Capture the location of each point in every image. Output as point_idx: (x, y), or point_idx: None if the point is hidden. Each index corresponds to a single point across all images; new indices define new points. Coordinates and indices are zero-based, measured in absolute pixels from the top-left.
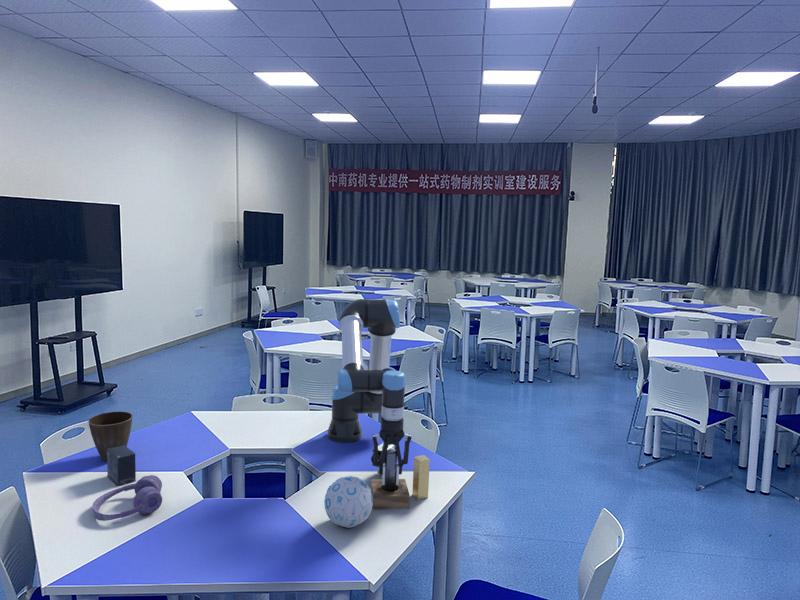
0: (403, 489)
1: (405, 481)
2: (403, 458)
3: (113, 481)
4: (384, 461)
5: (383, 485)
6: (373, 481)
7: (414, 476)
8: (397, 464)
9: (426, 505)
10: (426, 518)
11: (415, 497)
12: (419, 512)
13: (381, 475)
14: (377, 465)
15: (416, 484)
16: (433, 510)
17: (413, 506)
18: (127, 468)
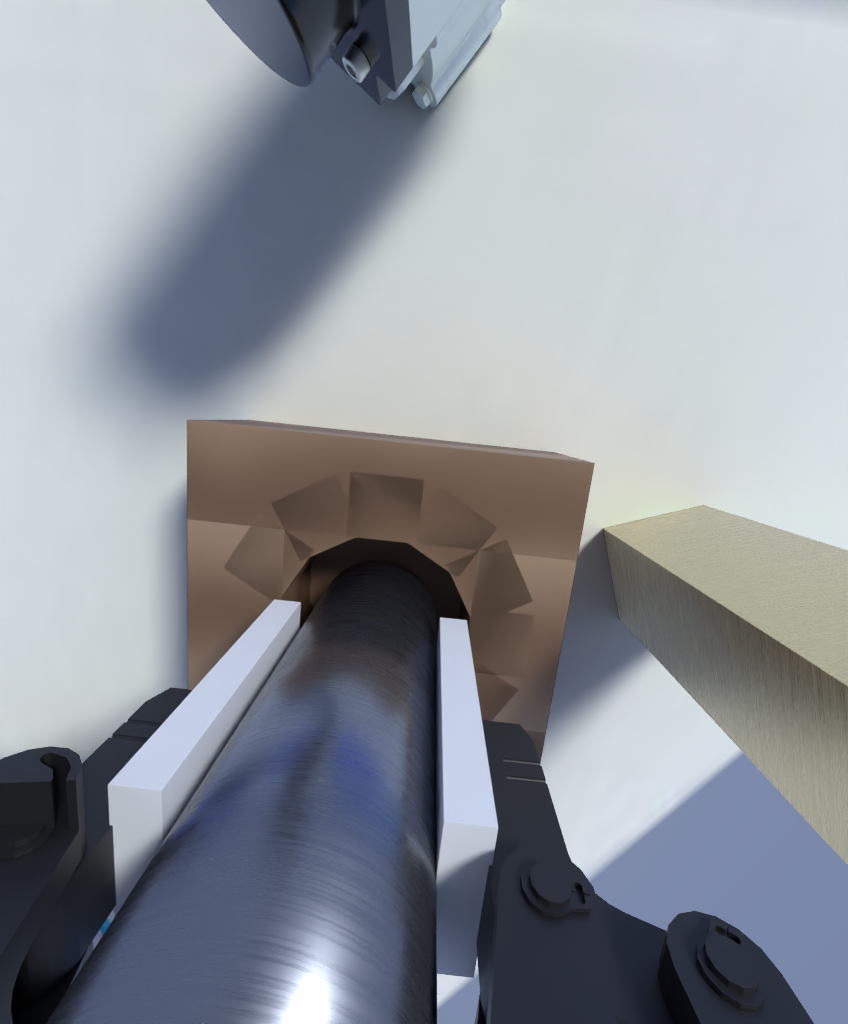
0: (505, 693)
1: (579, 529)
2: (695, 1021)
3: None
4: (380, 22)
5: (320, 551)
6: (210, 473)
7: (713, 628)
8: (464, 883)
9: (655, 705)
10: (590, 853)
11: (612, 579)
12: (568, 781)
13: (393, 98)
14: (276, 71)
15: (676, 646)
16: (678, 774)
17: (551, 702)
18: None
